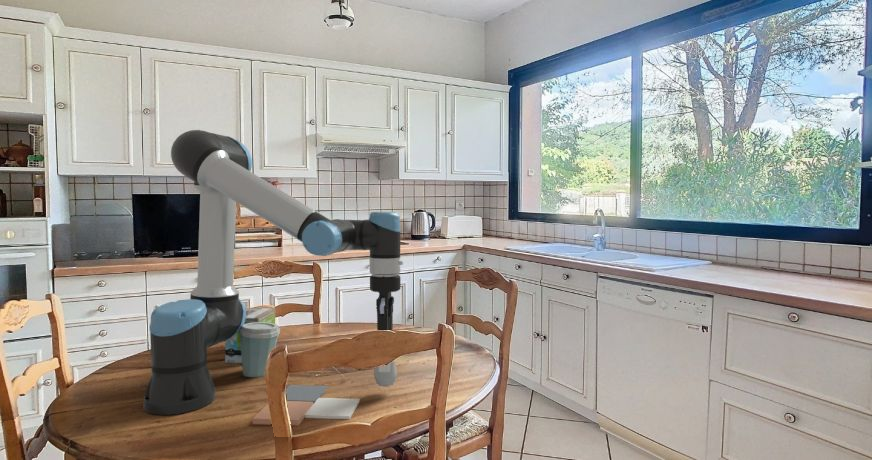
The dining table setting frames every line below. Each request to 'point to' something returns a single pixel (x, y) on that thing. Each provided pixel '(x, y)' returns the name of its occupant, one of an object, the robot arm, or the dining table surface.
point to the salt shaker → (386, 375)
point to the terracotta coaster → (295, 411)
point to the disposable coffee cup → (257, 346)
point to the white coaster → (332, 408)
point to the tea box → (234, 342)
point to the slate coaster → (304, 393)
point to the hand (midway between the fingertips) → (385, 368)
